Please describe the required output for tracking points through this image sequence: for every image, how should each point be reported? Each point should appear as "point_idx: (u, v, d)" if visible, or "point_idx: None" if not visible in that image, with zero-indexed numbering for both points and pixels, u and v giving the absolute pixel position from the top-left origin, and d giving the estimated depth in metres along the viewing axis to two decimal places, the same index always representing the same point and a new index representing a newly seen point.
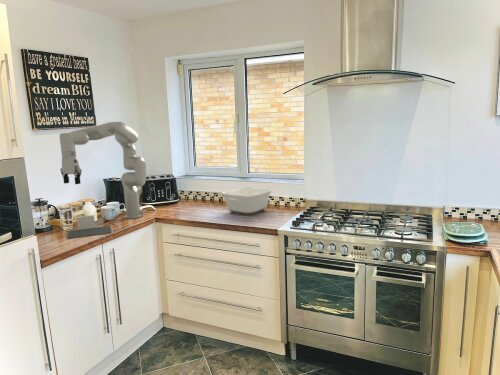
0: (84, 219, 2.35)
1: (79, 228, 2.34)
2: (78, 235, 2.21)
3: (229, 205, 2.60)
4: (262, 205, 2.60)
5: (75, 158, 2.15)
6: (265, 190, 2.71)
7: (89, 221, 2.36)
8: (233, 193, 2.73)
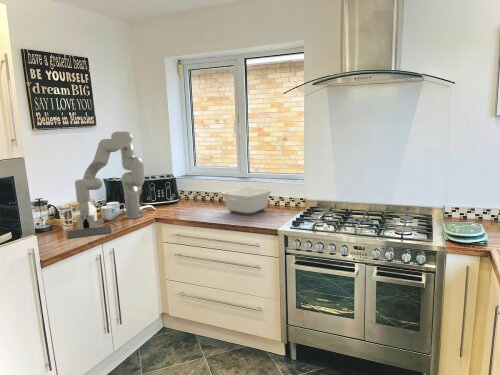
0: None
1: (79, 228, 2.34)
2: (78, 235, 2.21)
3: (229, 205, 2.60)
4: (262, 205, 2.60)
5: None
6: (265, 190, 2.71)
7: (89, 221, 2.36)
8: (233, 193, 2.73)
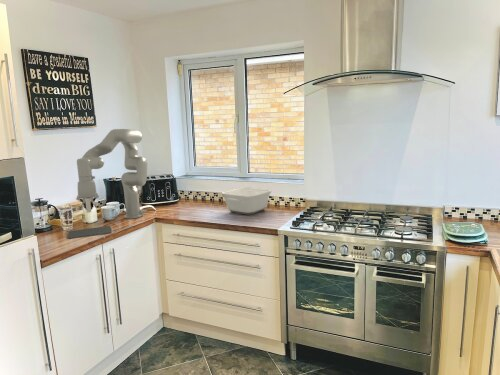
0: None
1: None
2: (78, 235, 2.21)
3: (229, 205, 2.60)
4: (262, 205, 2.60)
5: (94, 182, 2.25)
6: (265, 190, 2.71)
7: None
8: (233, 193, 2.73)
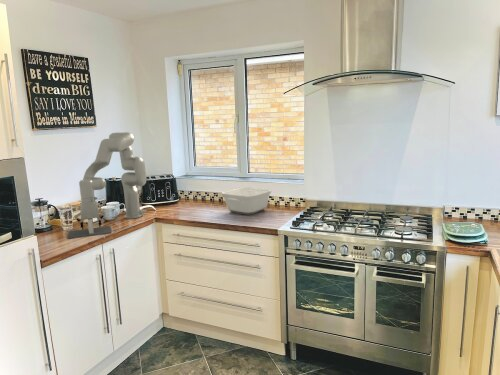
0: None
1: None
2: (78, 235, 2.21)
3: (229, 205, 2.60)
4: (262, 205, 2.60)
5: (96, 202, 2.27)
6: (265, 190, 2.71)
7: None
8: (233, 193, 2.73)
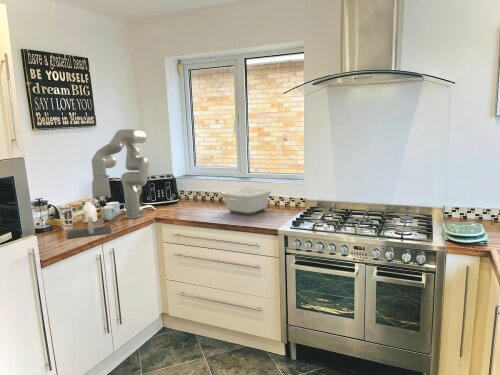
0: None
1: None
2: (78, 235, 2.21)
3: (229, 205, 2.60)
4: (262, 205, 2.60)
5: None
6: (265, 190, 2.71)
7: None
8: (233, 193, 2.73)
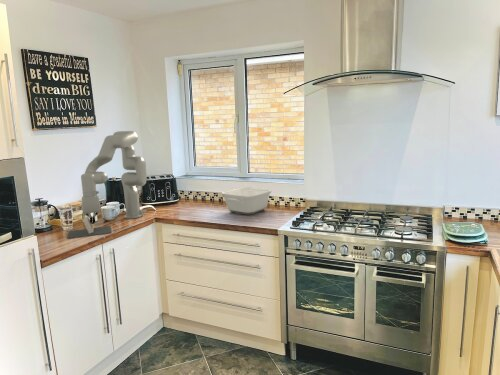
0: None
1: None
2: (78, 235, 2.21)
3: (229, 205, 2.60)
4: (262, 205, 2.60)
5: None
6: (265, 190, 2.71)
7: None
8: (233, 193, 2.73)
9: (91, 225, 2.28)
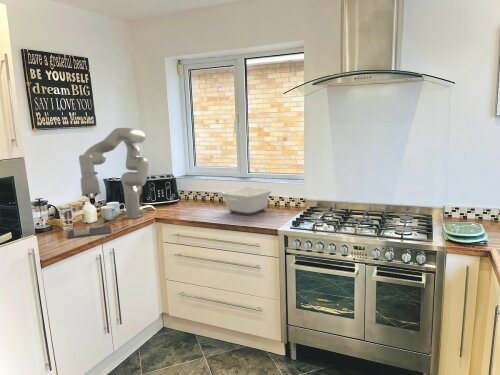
0: None
1: None
2: (78, 235, 2.21)
3: (229, 205, 2.60)
4: (262, 205, 2.60)
5: None
6: (265, 190, 2.71)
7: None
8: (233, 193, 2.73)
9: (83, 228, 2.27)
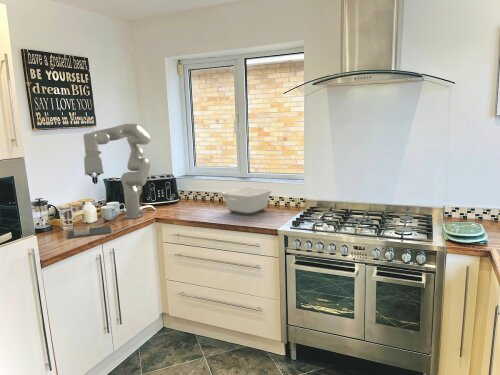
0: None
1: None
2: (78, 235, 2.21)
3: (229, 205, 2.60)
4: (262, 205, 2.60)
5: (100, 157, 2.28)
6: (265, 190, 2.71)
7: None
8: (233, 193, 2.73)
9: (83, 228, 2.27)
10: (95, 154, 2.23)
